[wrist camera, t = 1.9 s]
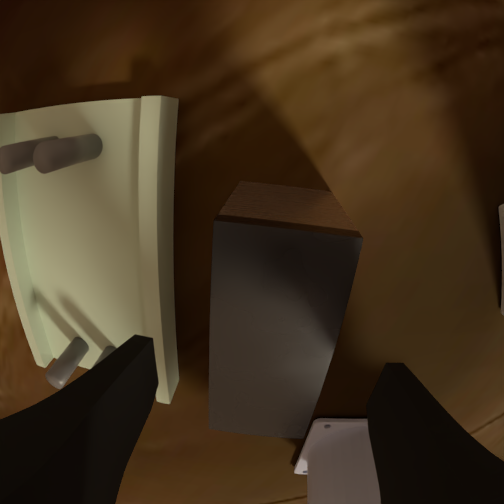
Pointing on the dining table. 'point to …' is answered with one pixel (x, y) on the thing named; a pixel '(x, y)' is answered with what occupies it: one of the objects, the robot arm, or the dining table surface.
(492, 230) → the dining table surface
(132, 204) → the tray
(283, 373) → the block
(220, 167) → the dining table surface
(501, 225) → the supplement box
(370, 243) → the dining table surface
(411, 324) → the dining table surface
